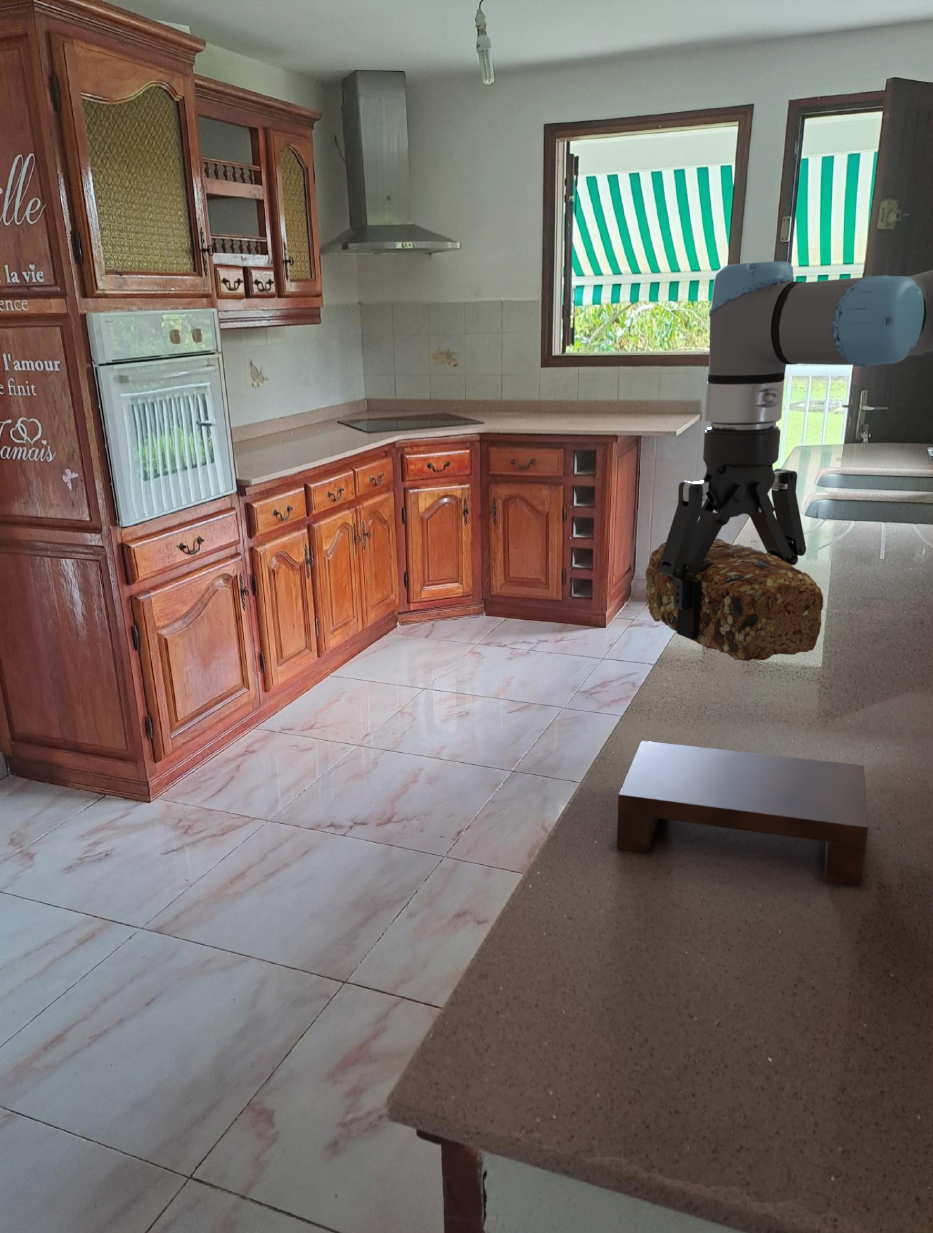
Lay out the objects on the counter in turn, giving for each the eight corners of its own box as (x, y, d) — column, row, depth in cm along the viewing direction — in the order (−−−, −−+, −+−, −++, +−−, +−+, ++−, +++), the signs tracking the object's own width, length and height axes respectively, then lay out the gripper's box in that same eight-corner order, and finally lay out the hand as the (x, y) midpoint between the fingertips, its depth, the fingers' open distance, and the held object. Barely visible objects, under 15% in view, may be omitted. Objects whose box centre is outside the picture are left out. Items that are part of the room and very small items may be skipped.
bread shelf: (857, 818, 98) (863, 765, 96) (860, 886, 87) (868, 827, 84) (639, 790, 106) (641, 740, 104) (616, 848, 94) (618, 794, 92)
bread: (641, 619, 114) (644, 537, 111) (718, 608, 117) (723, 527, 114) (737, 668, 98) (744, 572, 94) (824, 652, 101) (833, 559, 97)
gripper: (672, 438, 92) (663, 655, 99) (855, 418, 100) (834, 619, 108) (627, 432, 98) (622, 636, 106) (802, 413, 107) (786, 603, 114)
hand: (729, 627), depth 107 cm, fingers closed on bread, 11 cm apart
